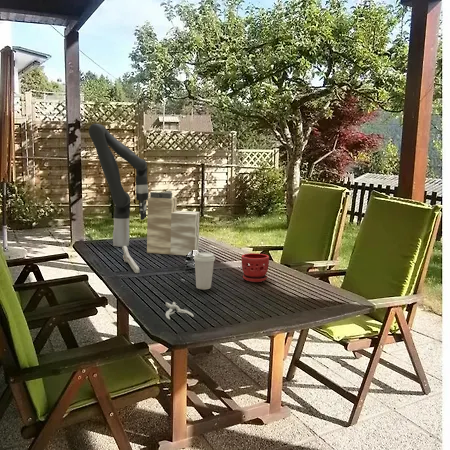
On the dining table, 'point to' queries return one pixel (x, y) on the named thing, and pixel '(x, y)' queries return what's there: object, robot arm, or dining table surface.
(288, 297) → the dining table surface
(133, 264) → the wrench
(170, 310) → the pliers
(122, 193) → the robot arm
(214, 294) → the dining table surface
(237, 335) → the dining table surface
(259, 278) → the plant pot
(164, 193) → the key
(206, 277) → the coffee cup
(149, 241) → the step stand
